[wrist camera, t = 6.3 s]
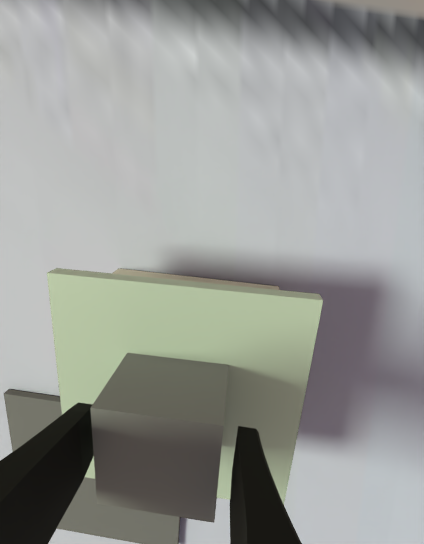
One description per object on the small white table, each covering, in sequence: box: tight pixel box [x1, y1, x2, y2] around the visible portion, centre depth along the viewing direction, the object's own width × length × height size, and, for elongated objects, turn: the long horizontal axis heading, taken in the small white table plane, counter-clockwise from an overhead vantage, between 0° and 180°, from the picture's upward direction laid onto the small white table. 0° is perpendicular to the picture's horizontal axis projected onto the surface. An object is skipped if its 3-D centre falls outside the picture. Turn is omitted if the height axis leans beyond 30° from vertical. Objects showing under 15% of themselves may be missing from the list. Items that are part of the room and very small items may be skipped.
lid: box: [47, 268, 323, 522], centre depth 11 cm, size 10×10×4 cm
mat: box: [4, 389, 180, 544], centre depth 20 cm, size 11×11×1 cm
